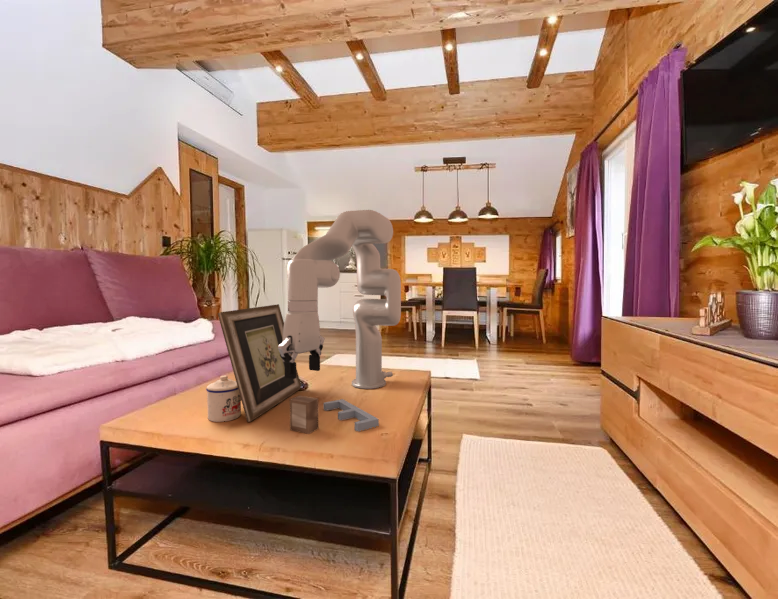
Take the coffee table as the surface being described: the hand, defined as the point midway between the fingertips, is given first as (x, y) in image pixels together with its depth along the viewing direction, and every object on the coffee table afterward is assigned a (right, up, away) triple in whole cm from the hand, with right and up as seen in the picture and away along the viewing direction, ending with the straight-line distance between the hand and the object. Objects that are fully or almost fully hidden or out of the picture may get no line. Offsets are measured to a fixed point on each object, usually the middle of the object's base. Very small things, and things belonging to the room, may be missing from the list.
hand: (303, 374), depth 100 cm
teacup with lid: (-24, -14, +11) cm, 30 cm away
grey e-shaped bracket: (+11, -14, +10) cm, 20 cm away
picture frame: (-17, -14, +22) cm, 31 cm away
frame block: (0, -15, +1) cm, 15 cm away
